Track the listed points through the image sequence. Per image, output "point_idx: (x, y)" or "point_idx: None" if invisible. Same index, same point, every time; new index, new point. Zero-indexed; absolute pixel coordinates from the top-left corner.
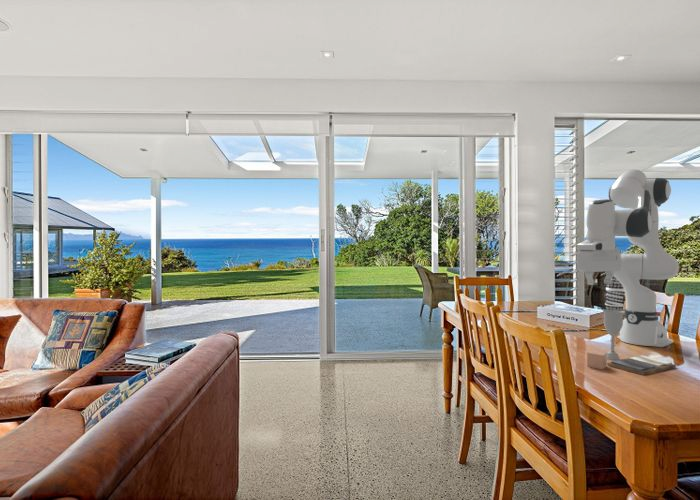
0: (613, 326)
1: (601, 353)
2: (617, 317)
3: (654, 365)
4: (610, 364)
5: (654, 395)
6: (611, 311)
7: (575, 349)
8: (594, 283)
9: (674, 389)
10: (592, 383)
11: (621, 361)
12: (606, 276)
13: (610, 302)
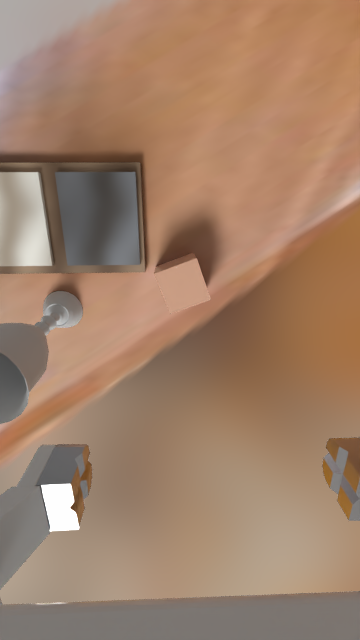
0: (37, 337)
1: (180, 275)
2: (7, 343)
3: (41, 184)
4: (144, 262)
5: (302, 26)
6: None
7: (84, 402)
8: (339, 443)
9: (191, 28)
10: (341, 185)
11: (109, 251)
12: (22, 557)
13: None
